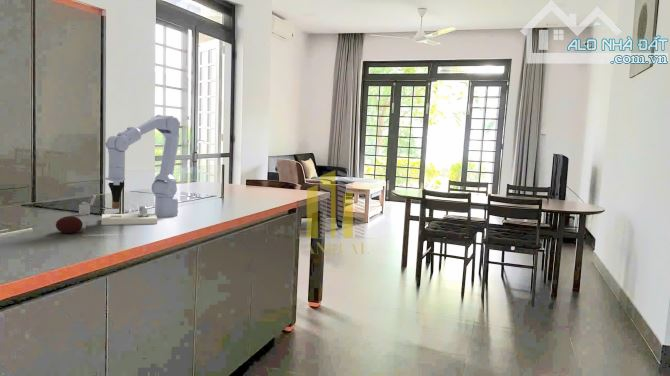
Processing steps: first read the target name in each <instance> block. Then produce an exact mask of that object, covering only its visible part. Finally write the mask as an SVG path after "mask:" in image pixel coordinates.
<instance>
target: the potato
mask: <svg viewBox="0 0 670 376" xmlns="http://www.w3.org/2000/svg"><path fill="white" fill-rule="evenodd" d="M83 224H84V223H83V221H82V220H81V219H80V218H79V217H76V216H74V215H73V216H72V215H69V216H68V215H67V216H63V217H61V218H58V220H57V221H56V222H55V227H56V230H58V232H61V233H64V234H65V233H66V234H74V233H78V232H79V231H81V230H82V228H83V226H84V225H83Z"/></svg>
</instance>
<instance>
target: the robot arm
mask: <svg viewBox="0 0 670 376" xmlns="http://www.w3.org/2000/svg"><path fill="white" fill-rule="evenodd" d="M180 127H181V121H179V119H178V118H177V116H175V115H161V114H157V115H155V116H151V118H150V119H148V120H147V121H145V122H144V123H142V124H141V125H139V126H138V127H134V126H128V127H127V128H126V130H124V131H121V132H118V133H117V134H116V135H111V136H109V137H108V138H107V139H106V141H105V147H106V149H107V154H108V177H105V178H104V180H105V181H106V180H107V181H110V182H108V184H107V185H108V187H109V189H110V191H111V200H112V199H113V202H119V201H120V202H121V196H122V195H121V194H122V191H123V189H124V187H125V182H124V181H125V180H126V178H125V175H126V174H125V171H126V170H125V169H126V151H127V150H128V148H129V146H131V145H133V144H135V143H136V142H138V141H140V140H141V139H142V136H143V135H146V134H147V133H149V132H152V131H153V130H155V129H156V130H157V131H158V132H159V133H161V134H162V135H163V136H164V138H165V139H164V140H165V141H164V148H163V153H162V158H161V164H160V170H159V173H158V174H157V175H156V176H155V177H154V180H153V183H152V185H151V192H152V193H153V194H154V200H155V201H154V214H156V216H157V217H163V218H164V217H166V218H167V217H178V214H179V209H178V207H179V202H178V200H179V199H178V197H177V196H175V195H176V194H177V192H178V187H177V183H178V182H177V179H176V178H175V177H174V171H175V166H176V165H175V164H176V159H177V154H178V149H179V148H178V147H179V142H180V137H181V136H180Z"/></svg>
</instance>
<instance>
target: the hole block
mask: <svg viewBox="0 0 670 376" xmlns="http://www.w3.org/2000/svg"><path fill="white" fill-rule="evenodd" d="M139 215H140V213H105V214H104V213H103V214H101V223H100V224H101V226H108V225H109V226H112V225H113V226H114V225H116V226H117V225H119V226H120V225H122V226H123V225H157V224H158V216H156V214H155V213H147V217H139Z"/></svg>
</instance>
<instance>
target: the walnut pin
mask: <svg viewBox="0 0 670 376" xmlns="http://www.w3.org/2000/svg"><path fill="white" fill-rule="evenodd" d="M120 205H121V200H120V201H119V202H113V199H112V198H111V209H113V210H119V209H120V208H121V206H120Z"/></svg>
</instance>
